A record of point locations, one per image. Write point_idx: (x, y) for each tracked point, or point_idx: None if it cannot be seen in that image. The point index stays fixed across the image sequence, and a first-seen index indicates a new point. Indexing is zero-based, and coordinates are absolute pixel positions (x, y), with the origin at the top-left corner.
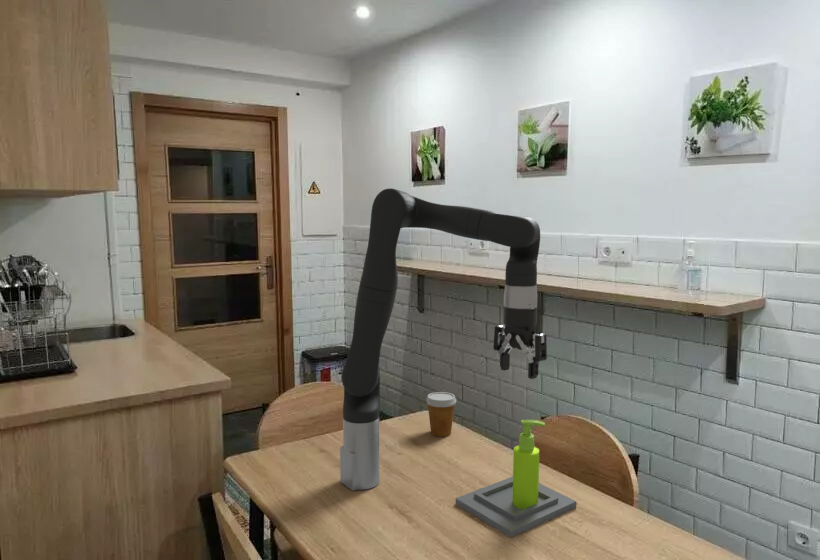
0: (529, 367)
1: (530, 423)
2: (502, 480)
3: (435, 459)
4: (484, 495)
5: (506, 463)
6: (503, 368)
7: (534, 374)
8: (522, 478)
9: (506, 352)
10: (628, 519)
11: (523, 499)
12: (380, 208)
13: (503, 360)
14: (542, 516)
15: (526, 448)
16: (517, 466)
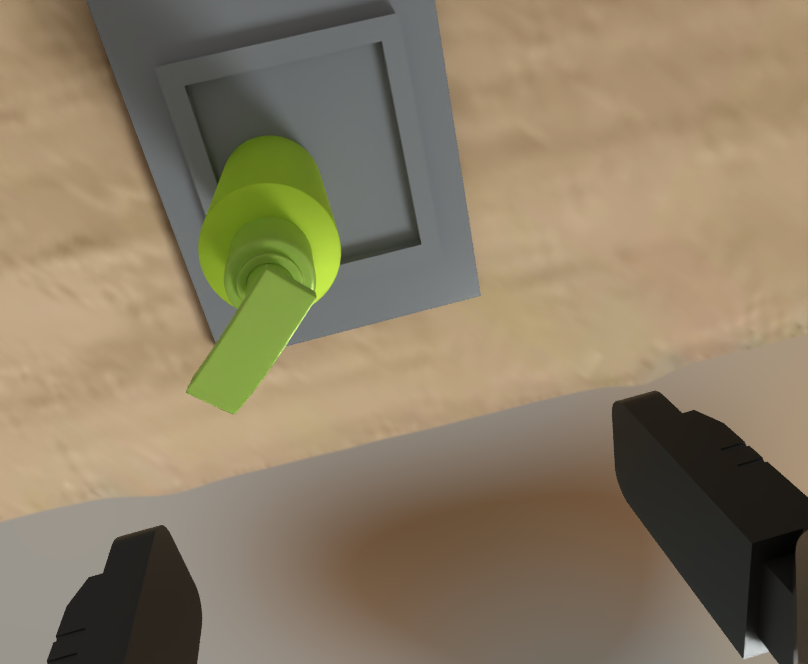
0: (99, 659)
1: (232, 319)
2: (466, 207)
3: (778, 70)
4: (383, 61)
5: (597, 311)
6: (626, 416)
7: (71, 617)
8: (229, 172)
9: (788, 642)
10: (102, 451)
11: (230, 159)
12: None
13: (692, 487)
14: (158, 189)
15: (234, 238)
16: (251, 168)
